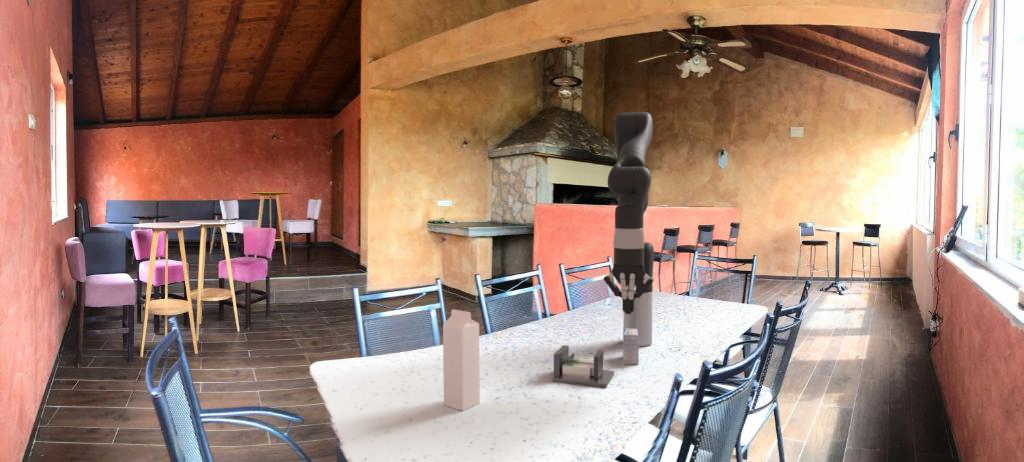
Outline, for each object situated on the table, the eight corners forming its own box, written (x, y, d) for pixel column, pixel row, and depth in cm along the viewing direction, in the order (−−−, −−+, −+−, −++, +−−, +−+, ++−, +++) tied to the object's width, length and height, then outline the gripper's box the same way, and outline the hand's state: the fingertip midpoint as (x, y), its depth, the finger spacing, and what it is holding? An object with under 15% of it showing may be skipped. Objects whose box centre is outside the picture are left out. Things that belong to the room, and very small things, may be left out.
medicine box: (638, 365, 154) (639, 335, 153) (622, 364, 154) (623, 334, 154) (637, 357, 161) (638, 328, 161) (622, 356, 162) (623, 328, 162)
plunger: (569, 367, 147) (569, 347, 147) (603, 371, 144) (603, 350, 143) (563, 374, 141) (563, 353, 141) (598, 378, 138) (598, 356, 138)
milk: (460, 398, 129) (460, 307, 128) (480, 403, 125) (479, 310, 124) (443, 405, 124) (442, 311, 123) (462, 411, 120) (462, 314, 119)
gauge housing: (564, 368, 150) (564, 344, 150) (614, 374, 145) (614, 349, 145) (552, 381, 140) (552, 354, 140) (605, 388, 135) (606, 360, 134)
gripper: (657, 245, 137) (656, 312, 138) (606, 243, 142) (605, 308, 143) (653, 248, 130) (653, 318, 131) (599, 246, 135) (599, 314, 136)
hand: (628, 313), depth 137 cm, fingers closed
